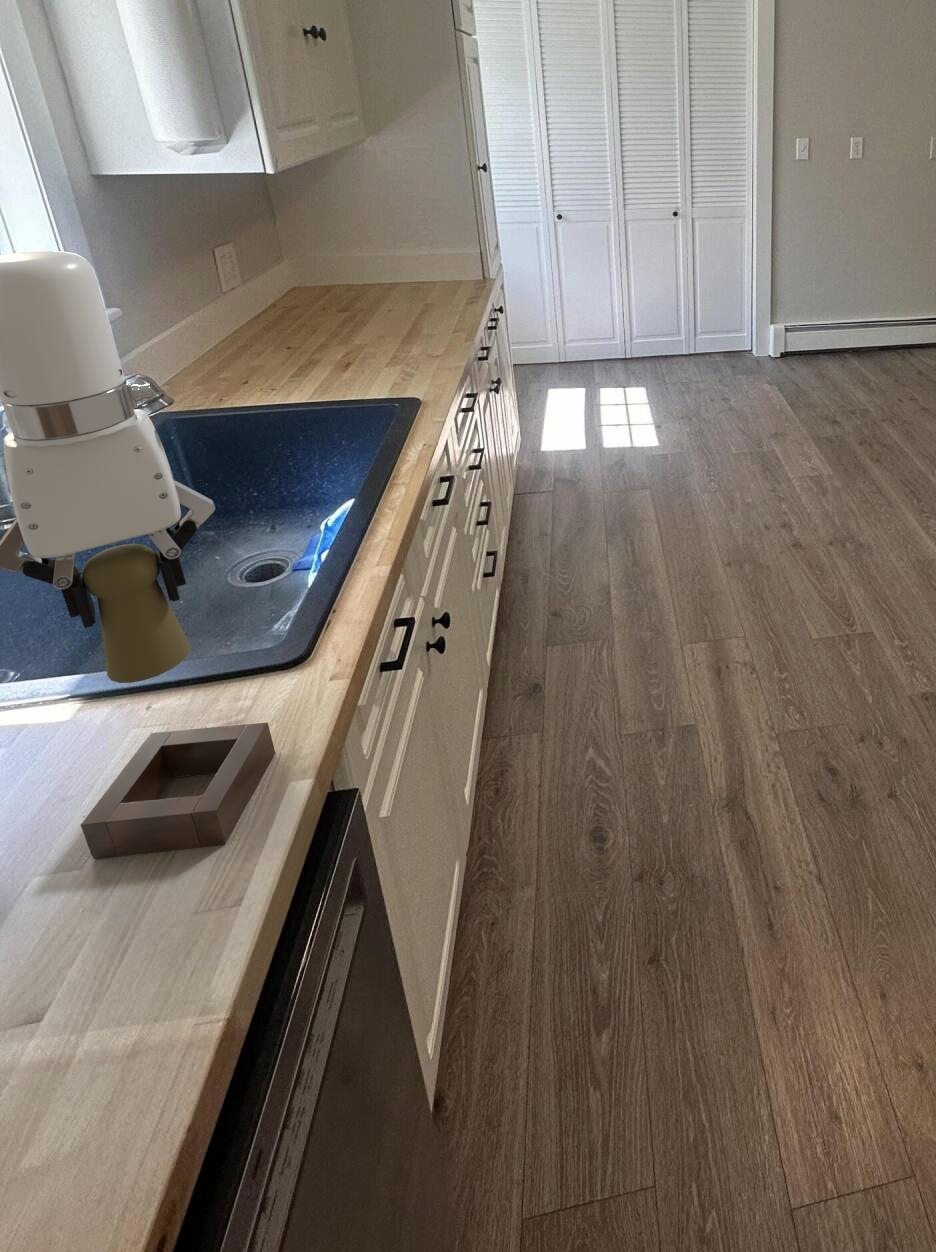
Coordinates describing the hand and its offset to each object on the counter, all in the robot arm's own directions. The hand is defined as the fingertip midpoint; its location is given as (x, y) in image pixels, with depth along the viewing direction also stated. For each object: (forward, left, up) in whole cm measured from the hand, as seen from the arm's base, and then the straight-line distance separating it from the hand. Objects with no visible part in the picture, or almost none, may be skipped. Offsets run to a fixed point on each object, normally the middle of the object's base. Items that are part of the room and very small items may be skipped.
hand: (132, 604), depth 68 cm
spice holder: (0, -1, -22) cm, 22 cm away
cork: (0, 0, -6) cm, 6 cm away
